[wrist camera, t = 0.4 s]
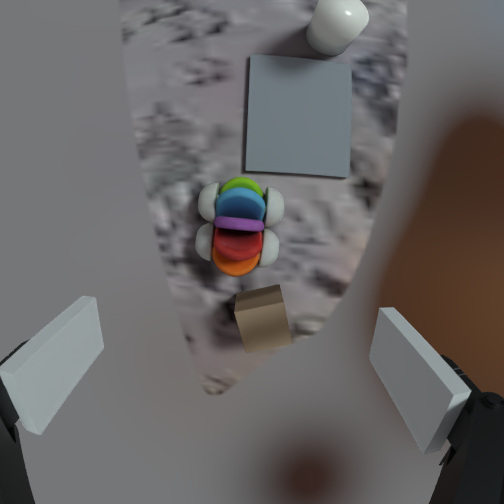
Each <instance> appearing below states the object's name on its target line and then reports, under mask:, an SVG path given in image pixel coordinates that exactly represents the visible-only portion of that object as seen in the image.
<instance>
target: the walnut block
mask: <svg viewBox="0 0 504 504" xmlns="http://www.w3.org/2000/svg"><path fill="white" fill-rule="evenodd" d="M234 313H235V317H236V320H237V324H238V327H239V331H240V335H241V338H242V342H243V345H244V349H245V352H246V353H248V352H253V351H259V350H264V349H269V348H274V347H279V346H284V345H288V344H292V341H291V336H290V331H289V326H288V321H287V316H286V311H285V306H284V301H283V297H282V293H281V289H280V285H274V286H270V287H265V288H260V289H255V290H251V291H246V292H241V293H236V301H235V310H234Z"/></svg>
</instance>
